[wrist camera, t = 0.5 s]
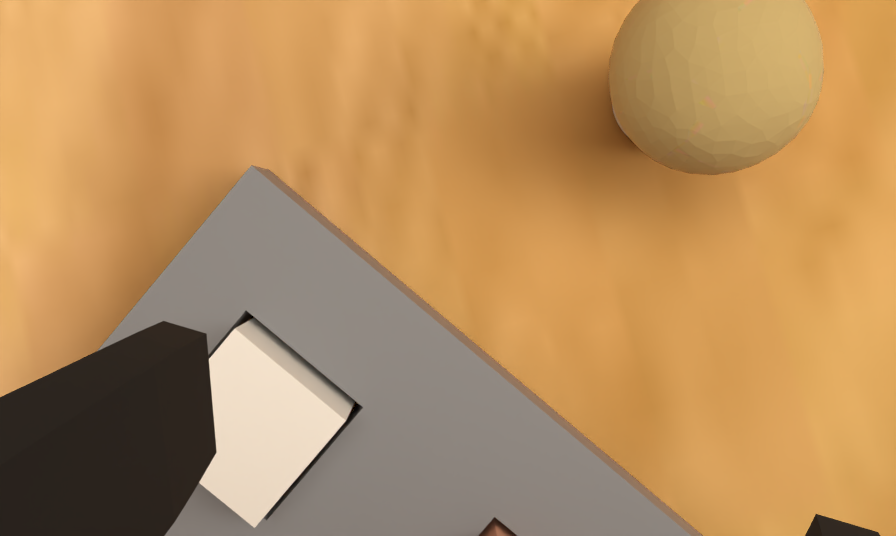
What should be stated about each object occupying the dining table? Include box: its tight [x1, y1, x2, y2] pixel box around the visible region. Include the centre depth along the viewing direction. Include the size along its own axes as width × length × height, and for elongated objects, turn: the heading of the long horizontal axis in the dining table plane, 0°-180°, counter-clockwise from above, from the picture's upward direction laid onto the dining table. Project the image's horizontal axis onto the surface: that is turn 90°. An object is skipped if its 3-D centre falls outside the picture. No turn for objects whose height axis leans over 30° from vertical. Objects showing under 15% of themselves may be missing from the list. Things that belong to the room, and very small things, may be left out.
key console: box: [98, 165, 703, 536], centre depth 32 cm, size 14×24×3 cm, turn 50°
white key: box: [199, 318, 355, 528], centre depth 30 cm, size 5×5×3 cm
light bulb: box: [608, 0, 824, 175], centre depth 28 cm, size 6×6×10 cm
